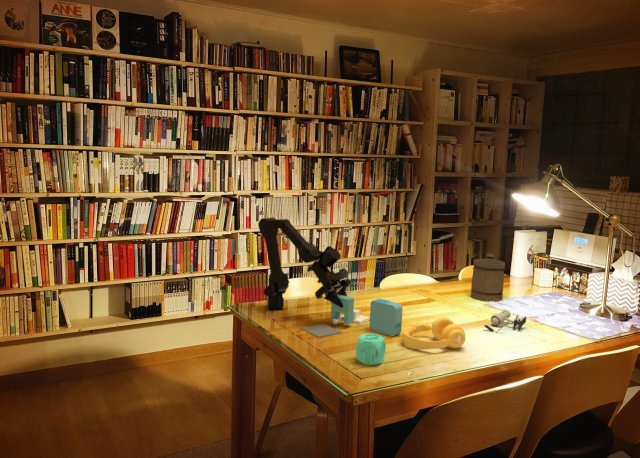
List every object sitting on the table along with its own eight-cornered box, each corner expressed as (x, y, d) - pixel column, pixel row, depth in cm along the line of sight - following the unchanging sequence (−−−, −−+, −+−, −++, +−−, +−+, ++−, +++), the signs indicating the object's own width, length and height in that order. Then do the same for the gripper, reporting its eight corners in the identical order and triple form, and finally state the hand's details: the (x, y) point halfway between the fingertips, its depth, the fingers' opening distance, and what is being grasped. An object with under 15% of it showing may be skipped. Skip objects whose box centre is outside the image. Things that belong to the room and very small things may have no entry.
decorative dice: (355, 362, 180) (356, 339, 179) (362, 354, 188) (363, 332, 187) (378, 367, 178) (380, 343, 176) (385, 358, 185) (386, 335, 184)
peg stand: (323, 325, 218) (324, 315, 217) (349, 314, 234) (349, 305, 233) (345, 330, 212) (345, 320, 212) (370, 319, 228) (370, 310, 228)
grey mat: (300, 328, 213) (300, 327, 213) (322, 324, 220) (322, 323, 220) (318, 337, 204) (319, 336, 203) (342, 332, 210) (342, 331, 210)
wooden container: (505, 297, 274) (509, 253, 271) (497, 303, 261) (501, 257, 258) (475, 292, 281) (479, 249, 278) (466, 298, 269) (470, 253, 266)
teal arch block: (330, 320, 220) (331, 296, 218) (336, 318, 223) (337, 294, 222) (347, 324, 215) (348, 299, 214) (353, 322, 219) (354, 297, 217)
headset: (394, 337, 207) (397, 313, 206) (447, 336, 212) (449, 313, 211) (413, 354, 190) (415, 329, 189) (469, 353, 195) (472, 328, 193)
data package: (401, 334, 210) (403, 304, 209) (394, 337, 207) (396, 306, 205) (376, 327, 218) (377, 297, 217) (369, 329, 215) (370, 299, 213)
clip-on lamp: (504, 343, 214) (528, 325, 225) (504, 328, 212) (529, 311, 223) (477, 332, 223) (502, 315, 234) (478, 318, 221) (503, 302, 231)
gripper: (322, 265, 211) (345, 299, 206) (348, 259, 226) (370, 290, 221) (305, 282, 216) (327, 315, 211) (331, 274, 231) (352, 305, 227)
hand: (345, 306), depth 218 cm, fingers closed on teal arch block, 4 cm apart
